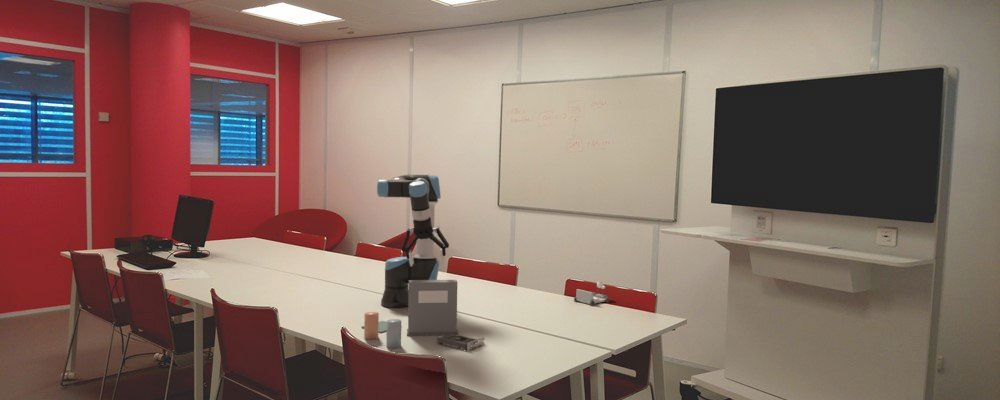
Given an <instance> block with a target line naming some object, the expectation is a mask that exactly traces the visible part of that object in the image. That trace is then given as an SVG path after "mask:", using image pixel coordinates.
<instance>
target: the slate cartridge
mask: <svg viewBox="0 0 1000 400" xmlns="http://www.w3.org/2000/svg"><path fill="white" fill-rule="evenodd" d="M386 322H387V331H386V343H385V344H386V345H385V346H386V348H387V349H390V348H392V349H393V348H394V349H395V348H396V349H400V348H402V327H401V326H402V320H401V319H398V318H396V319H395V318H392V319H391V318H390V319H388V320H386ZM399 347H400V348H399ZM392 349H391V350H392ZM394 349H393V350H394Z"/></svg>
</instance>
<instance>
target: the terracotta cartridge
mask: <svg viewBox="0 0 1000 400" xmlns="http://www.w3.org/2000/svg"><path fill="white" fill-rule="evenodd" d="M363 314H364V321H363V322H364V323H363V326H364V328H363V331H364V332H363V333H364V334H363V335H364V339H365V340H367V341H374V340H377V338H378V339H379V332H378V327H379V322H380V320H379V317H380V316H379V315H380V313H379V312H378V311H367V312H364V313H363Z"/></svg>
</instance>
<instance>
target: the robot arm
mask: <svg viewBox="0 0 1000 400" xmlns="http://www.w3.org/2000/svg"><path fill="white" fill-rule="evenodd" d="M376 192H377V196H378V197H379V198H404V199H409V200H410V206H411V215H412V217H411V218H412V222H413V224H412V225H413V229H411V228H408V229H407V231H406V236H405V239H404V242H403V245H402V247H401V252H405V254H406V256H399V257H392V258H389V259H387V260H385V264H384V265H385V266H384V291H383V295H382V297H381V300H380V305H381V306H382V307H386V308H391V309H392V308H394V309H397V308H399V309H400V308H406V307H408V301H409V280H438V275H439V269H440V260H439V259H438V258H437V255H436V254H435V244H436V245H437V246H438V247H439V248H440V259H441V264H442V265H443V264H445V256H446V254H447V253H446V249H449V247H450V244H449V242H448V241H447V239H446V238H445V236H444V235H443V233H442V232H441V228H440V226H436V227H435V209H436V207H435V206H436V204H438V203H439V199H441V187H440V179H439V177H438V176H437V175H434V174H433V175H431V174H404V175H398V176H394V177H393V178H391V179H379V180H377V185H376ZM413 234H414V235H415V236H414V237H413V239H412V240H411V241H410V243H409V239H410V237H411V235H413ZM435 234H436V235H437V236H438V237H439V239H438V237H437V236H435ZM408 243H409V244H408ZM415 244H416V248H415V249H416V250H415V251H416V254H414V255H413V254H412V248H413V246H414V245H415Z"/></svg>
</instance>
